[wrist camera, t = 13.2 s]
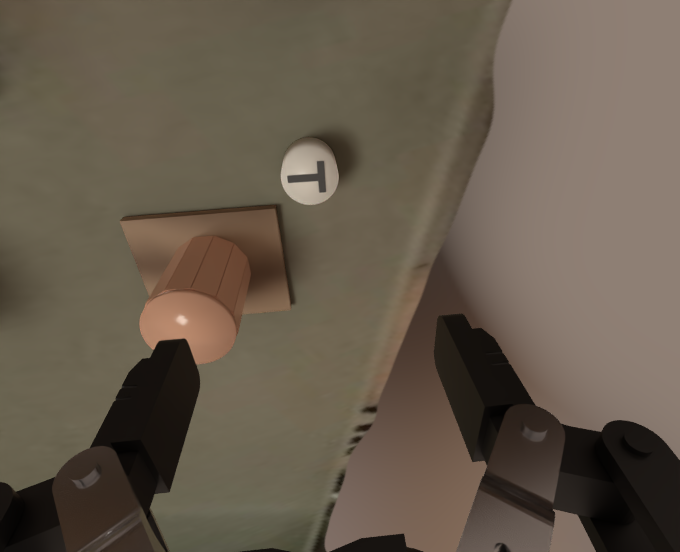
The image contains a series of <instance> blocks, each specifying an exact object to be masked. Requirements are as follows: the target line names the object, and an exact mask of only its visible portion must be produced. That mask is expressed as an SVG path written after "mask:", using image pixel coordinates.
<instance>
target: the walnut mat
mask: <svg viewBox="0 0 680 552" xmlns="http://www.w3.org/2000/svg"><path fill="white" fill-rule="evenodd" d="M120 224H121V226H122V229H123V231H124V234H125V236H126V239H127V241H128V244H129V246H130V249H131V251H132V254H133V256H134V259H135V261H136V264H137V266H138V269H139V271H140V274H141V277H142V279H143V282H144V284H145V287H146V289H147V292H148V294H149V297H150V295H151V293H152V292H153V290H154V288H155V287H156V285H157V283H158V281H159V280H160V278H161V276H162V275H163V273H164V271H165V269H166V268H167V266H168V264H169V263H170V261H171V259H172V257H173V256H174V254H175V252H176V251H177V249H178V248H179V247H180V246H181V245H183V244H184V243H186V242H187V241H189V240H190V239H191V238H193V237H202V236H217V237H219V238H222V239H225V240H227V241H230V242H232V243H234V244H235V245H236V246H237V247H238V248H239V249H240V250H241V251H242V252H243V253H244V254H245V255H246V256H247V258H248V262H249V266H250V271H251V277H250V281H249V286H248V290H247V295H246V299H245V304H244V308H243V313H242V314H252V313H263V312H274V311H285V310H291V300H290V293H289V287H288V280H287V274H286V267H285V261H284V254H283V248H282V241H281V235H280V229H279V222H278V216H277V209H276V205H267V206H255V207H242V208H230V209H218V210H205V211H193V212H181V213H168V214H156V215H143V216H131V217H123V218H122V219H121V220H120Z"/></svg>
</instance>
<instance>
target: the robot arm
mask: <svg viewBox="0 0 680 552" xmlns="http://www.w3.org/2000/svg"><path fill="white" fill-rule="evenodd" d="M434 358H435V365H436V369H437V371H438V374H439V377H440V379H441V382H442V384H443V387H444V389H445V392H446V395H447V397H448V400H449V402H450V405H451V408H452V410H453V413H454V415H455V418H456V421H457V423H458V426H459V428H460V431H461V434H462V436H463V439H464V441H465V444H466V447H467V449H468V452H469V454H470V457H471V459H472V462H476V461H485V462H486V464H487V468H486V471H485V474H484V476H483V477H482V479H481V482H480V485H479V487H478V490H477V493H476V496H475V499H474V502H473V505H472V508H471V510H470V513H469V516H468V519H467V522H466V525H465V528H464V531H463V534H462V536H461V539H460V542H459V545H458V548H457V551H456V552H549V551H550V545H551V539H552V534H553V528H554V521H555V512H554V511H553V509H556V510H560V511H564V512H568V513H573V514H577V515H578V516H579V518H580V520H581V522H582V524H583V526H584V528H585V530H586V532H587V534H588V536H589V538H590V540H591V542H592V544H593V546H594V548H595V550H596V552H680V460H679V459H678V458H677V456H676V455H675V454H674V453H673V451H672V450H671V449H670V448H669V446H668V445H667V444H666V443H665V442H664V441H663V440H662V439H661V438H660V437H659V436H658V435H657V434H655V433H654V432H653V431H651V430H649V429H648V428H646V427H644V426H642V425H639V424H637V423H634V422H630V421H622V420H617V421H612V422H609V423H607V424H606V425H605V426H604V428H603V430H602V432H598V431H592V430H587V429H582V428H576V427H571V426H566V425H564V424H561V423H560V422H559V420H558V419H557V418H556V417H555V416H554V415H552V414H551V413H550V412H548V411H547V410H545V409H543V408H541V407H538V406H536V405H535V404H534V402H533V401H532V399H531V397H530V396H529V394H528V392H527V391H526V389H525V388H524V386H523V384H522V383H521V381H520V379H519V378H518V376H517V374H516V373H515V371H514V370H513V368H512V366H511V365H510V364H509V363H508V362H509V361H508V360H507V358H506V356H505V355H504V354H503V353H502V350H501V348H500V347H499V345H498V343H497V342H496V340H495V339H494V338H493V337H492V336H491V335H489V334H488V333H487V332H486V331H484V330H483V329H482V328H476V329H472V328H471V326H470V324H469V323H468V321H467V319H466V317H465V316H464V315H463V314H453V315H442V316H439V317H438V319H437V329H436V338H435V349H434ZM199 389H200V376H199V372H198V369H197V366H196V363H195V360H194V358H193V355H192V352H191V349H190V346H189V344H188V341H187V340H186V339H185V338H182V339H171V340H161V341H159V342H158V343H157V345H156V347H155V349H154V351H153V353H152V355H151V357H150V358H145V359H142V360H141V361H140V362H139V363H138V364H137V365H136V366H135V367H134V368H133V369H132V370H131V371H130V372H129V373H128V375H127V377H126V379H125V381H124V383H123V385H122V389H120V391H119V392H118V394H117V396H116V401H114V402H113V404H112V406H111V408H110V410H109V412H108V414H107V416H106V418H105V420H104V422H103V423H102V425H101V427H100V429H99V431H98V433H97V435H96V437H95V439H94V441H93V443H92V445H91V447H90V448H89V449H86V450H84V451H82V452H80V453H78V454H77V455H75V456H74V457H72V458H71V459H70V460H69V461H68V462H67V463H65V464H64V466H63V467H62V468H61V469H60V470H59V472H58V473H57V475H56V477H54V478H52V479H49V480H46V481H44V482H41V483H38V484H36V485H33V486H30V487H28V488H25V489H22V490H20V491H17V492H15V491H14V490H13V489H12V487H11V486H9V485H8V484H6V483H2V482H0V552H170V550H169V548H168V546H167V543H166V541H165V539H164V537H163V534H162V532H161V530H160V528H159V526H158V523H157V521H156V519H155V517H154V515H153V512H152V510H151V509H150V506H151V503H152V500H153V497H154V494H158V493H167V492H170V489H171V485H172V482H173V479H174V475H175V472H176V468H177V465H178V462H179V458H180V455H181V451H182V448H183V445H184V441H185V438H186V434H187V431H188V428H189V424H190V421H191V417H192V414H193V411H194V407H195V404H196V400H197V397H198V394H199ZM242 552H289V551H284V550H279V549H274V548H269V549H260V550H251V551H242ZM330 552H423V551H420V550H417V549H414V548H409V547H406V542H405V537H404V534H396V535H387V536H378V537H369V538H361V539H359V540H356V541H354V542H352V543H349V544H347V545H345V546H342V547H340V548H338V549H335V550H333V551H330Z"/></svg>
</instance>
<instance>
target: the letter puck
mask: <svg viewBox="0 0 680 552" xmlns="http://www.w3.org/2000/svg"><path fill="white" fill-rule="evenodd" d="M338 180H339V174H338V168H337V164H336V160H335V156H334V153H333V151H332V150H331V148H330V147H329V146H328V145H327V144H326V143H325V142H323V141H322V140H320V139H317V138H313V137H305V138H301V139H298V140H296V141H295V142H293V143H292V144H291V145H290V146H289V147H288V149H287V150H286V152H285V155H284V158H283V164H282V170H281V182H282V185H283V188H284V190H285V191H286V193H287V194H288V195H289V196H290V197H291V198H292V199H293V200H295V201H297V202H299V203H302V204H306V205H314V204H319V203H322V202H324V201H326V200H327V199H328V198H330V197H331V196H332V194H333V193H334V192H335V190H336V188H337V185H338Z"/></svg>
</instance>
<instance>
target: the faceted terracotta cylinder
mask: <svg viewBox="0 0 680 552" xmlns="http://www.w3.org/2000/svg"><path fill="white" fill-rule="evenodd" d="M250 277H251V271H250V266H249V262H248V258H247V256H246V255H245V254H244V253H243V252H242V251H241V250H240V249H239V248H238V247H237V246H236V245H235V244H234V243H232V242H230V241H227V240H225V239H222V238H219V237H217V236H202V237H193V238H191V239H190V240H189V241H187V242H186V243H184V244H183V245H181V246H180V247H179V248H178V249H177V251H176V252H175V254H174V256H173V257H172V259H171V261H170V263H169V264H168V266H167V268H166V269H165V271H164V273H163V275H162V276H161V278H160V280H159V281H158V283H157V285H156V287H155V288H154V290H153V292H152V293H151V295H150V297H149V299H148V300H147V302H146V304H145V308H144V310H143V312H142V314H141V317H140V331H141V334H142V336H143V338H144V340H145V341H146V343H147V344H148V345H149V346H150V347H151V348H152V349H153V350H154V349H155V347H156V345H157V343H158V342H159V341H161V340H171V339H182V338H185V339H186V340H187V341H188V344H189V346H190V349H191V352H192V355H193V358H194V360H195V363H196V364H204V363H209V362H212V361H215V360H217V359H219V358H221V357H223V356H224V355H225V354H227V353H228V352H229V350H230V349H231V348H232V346H233V344H234V342H235V338H236V335H237V333H238V331H239V326H240V322H241V317H242V313H243V308H244V304H245V299H246V295H247V290H248V286H249V281H250Z"/></svg>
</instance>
